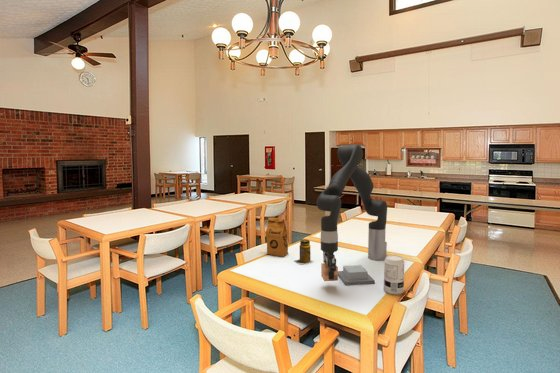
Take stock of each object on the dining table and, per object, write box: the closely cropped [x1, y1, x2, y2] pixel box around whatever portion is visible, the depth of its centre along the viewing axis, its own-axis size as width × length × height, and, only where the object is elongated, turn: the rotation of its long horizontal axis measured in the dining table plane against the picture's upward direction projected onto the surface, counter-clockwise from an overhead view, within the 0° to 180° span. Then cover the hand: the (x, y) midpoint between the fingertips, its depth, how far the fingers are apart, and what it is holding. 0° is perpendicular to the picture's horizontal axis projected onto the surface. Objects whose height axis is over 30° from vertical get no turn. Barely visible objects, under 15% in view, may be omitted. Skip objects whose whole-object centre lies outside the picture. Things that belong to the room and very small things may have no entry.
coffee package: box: [265, 217, 289, 258], centre depth 199 cm, size 10×12×22 cm
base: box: [338, 264, 376, 286], centre depth 161 cm, size 14×14×5 cm
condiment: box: [294, 238, 314, 266], centre depth 186 cm, size 7×8×12 cm
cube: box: [320, 262, 339, 282], centre depth 150 cm, size 6×6×6 cm
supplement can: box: [383, 254, 405, 296], centre depth 146 cm, size 8×8×15 cm
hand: (329, 276), depth 151 cm, fingers closed on cube, 6 cm apart
